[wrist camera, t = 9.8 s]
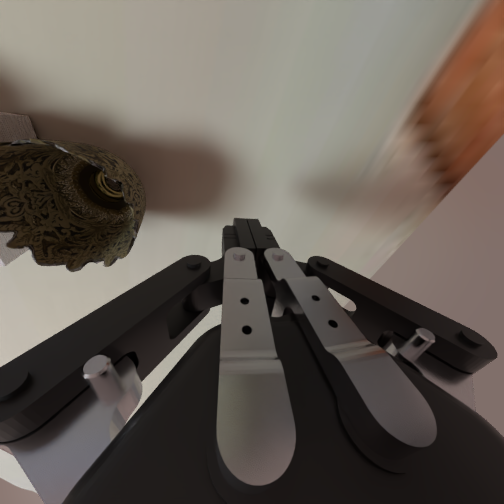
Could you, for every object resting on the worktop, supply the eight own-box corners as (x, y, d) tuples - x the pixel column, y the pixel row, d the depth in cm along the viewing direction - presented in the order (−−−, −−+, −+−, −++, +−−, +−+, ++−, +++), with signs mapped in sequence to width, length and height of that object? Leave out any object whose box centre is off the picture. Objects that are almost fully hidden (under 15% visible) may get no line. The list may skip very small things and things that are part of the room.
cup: (149, 131, 16) (104, 137, 9) (171, 217, 20) (151, 264, 13) (43, 133, 15) (-95, 141, 8) (89, 223, 19) (23, 278, 12)
